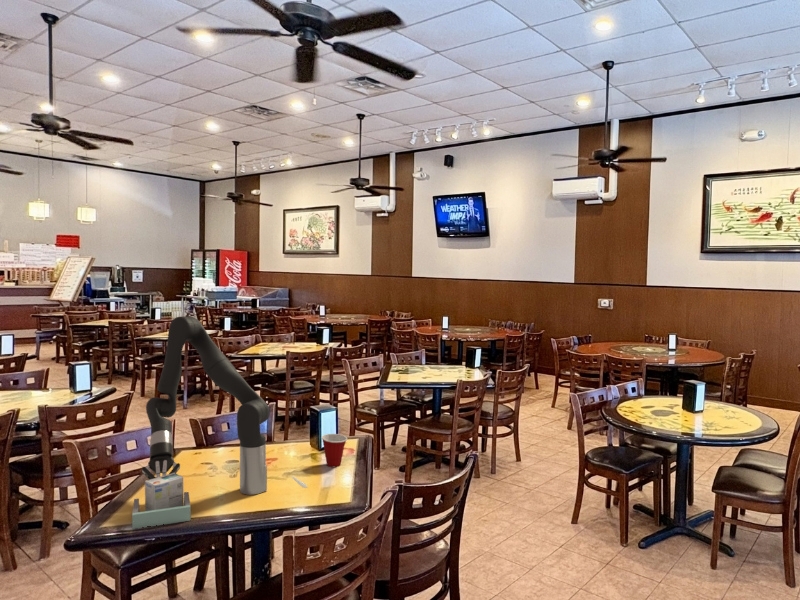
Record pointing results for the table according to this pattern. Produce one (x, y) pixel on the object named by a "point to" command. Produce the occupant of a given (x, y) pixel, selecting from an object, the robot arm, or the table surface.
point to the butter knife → (300, 482)
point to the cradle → (161, 514)
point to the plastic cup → (333, 448)
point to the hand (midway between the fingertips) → (161, 491)
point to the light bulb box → (164, 492)
